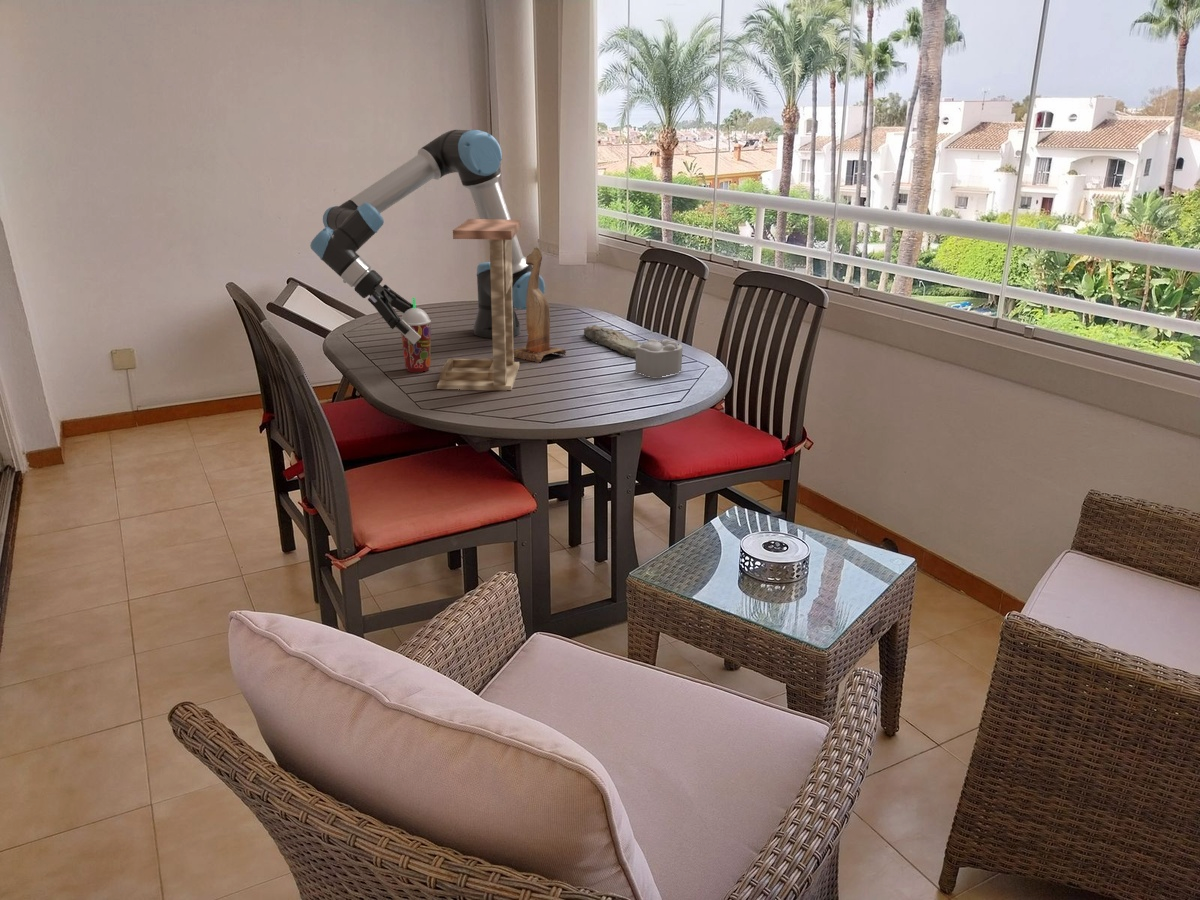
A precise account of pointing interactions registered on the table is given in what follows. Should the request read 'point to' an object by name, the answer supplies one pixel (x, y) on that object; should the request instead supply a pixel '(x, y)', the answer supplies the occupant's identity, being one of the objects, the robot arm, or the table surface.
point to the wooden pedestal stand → (502, 366)
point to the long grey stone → (612, 340)
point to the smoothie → (419, 352)
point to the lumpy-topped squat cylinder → (658, 358)
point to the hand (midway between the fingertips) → (422, 335)
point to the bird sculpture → (536, 316)
